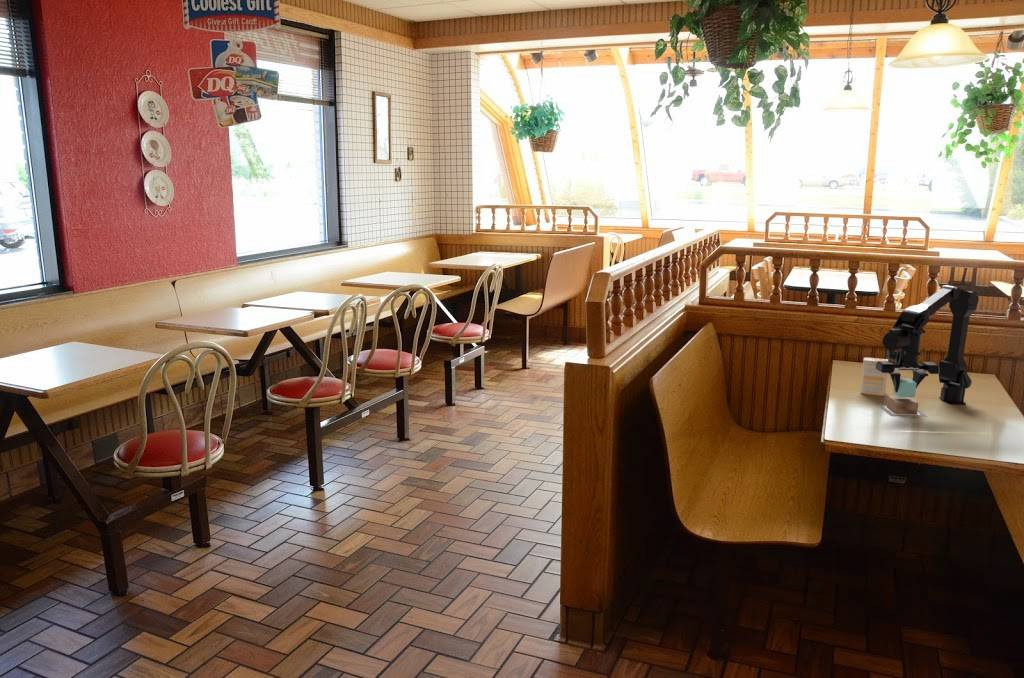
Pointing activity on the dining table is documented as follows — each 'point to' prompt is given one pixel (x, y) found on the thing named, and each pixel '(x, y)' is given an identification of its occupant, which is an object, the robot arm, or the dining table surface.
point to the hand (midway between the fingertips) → (904, 392)
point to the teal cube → (906, 388)
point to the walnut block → (902, 405)
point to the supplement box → (873, 378)
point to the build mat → (891, 413)
